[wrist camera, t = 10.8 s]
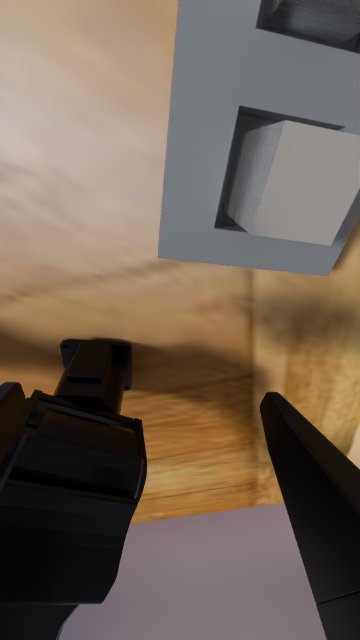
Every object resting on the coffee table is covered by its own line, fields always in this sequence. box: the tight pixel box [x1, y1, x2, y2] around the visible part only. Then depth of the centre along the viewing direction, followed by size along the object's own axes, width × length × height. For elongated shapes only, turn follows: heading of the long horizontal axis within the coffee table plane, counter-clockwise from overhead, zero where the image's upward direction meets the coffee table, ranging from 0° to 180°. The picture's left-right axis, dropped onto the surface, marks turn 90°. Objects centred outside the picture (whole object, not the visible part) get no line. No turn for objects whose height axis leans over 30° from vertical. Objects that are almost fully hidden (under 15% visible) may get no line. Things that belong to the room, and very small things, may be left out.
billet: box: [223, 120, 360, 246], centre depth 12 cm, size 4×4×6 cm
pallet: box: [158, 0, 360, 276], centre depth 12 cm, size 18×12×3 cm, turn 172°
